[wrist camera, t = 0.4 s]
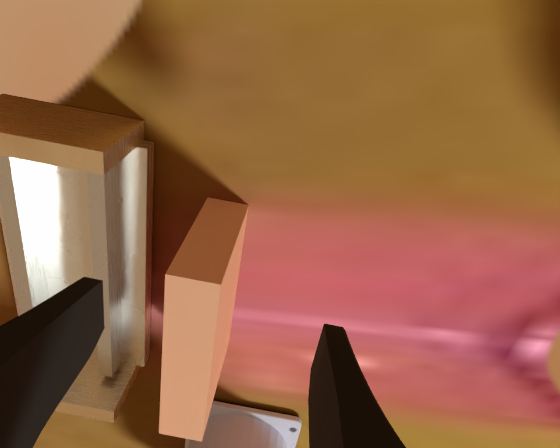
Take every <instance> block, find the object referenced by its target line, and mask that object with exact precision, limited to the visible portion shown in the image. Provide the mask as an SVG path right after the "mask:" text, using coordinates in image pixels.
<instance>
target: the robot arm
mask: <svg viewBox="0 0 560 448" xmlns="http://www.w3.org/2000/svg"><path fill="white" fill-rule="evenodd" d="M103 330H104V302H103V280H98V279H93V278H88V277H83V278H81V279H79V280H78V281H76V282H74V283H73V284H71V285H70V286H68V287H66V288H65V289H63V290H61V291H60V292H58V293H57V294H55V295H53V296H52V297H50V298H48V299H47V300H45V301H44V302H42V303H40V304H38V305H37V306H35V307H33V308H32V309H30V310H28V311H27V312H25V313H23V314H21V315H20V316H18V317H16V318H14V319H12V320H10V321H8V322H7V323H5V324H3V325H1V326H0V448H33V446H34V444H35V442H36V440H37V438H38V436H39V435H40V433H41V431H42V429H43V428H44V426H45V425H46V423H47V421H48V420H49V418H50V416H51V415H52V414H53V412H54V411H55V409H56V408H57V406H58V405H59V403H60V402H61V400H62V399H63V397H64V396H65V394H66V393H67V391H68V390H69V388H70V387H71V385H72V384H73V382H74V381H75V379H76V378H77V376H78V375H79V373H80V372H81V370H82V369H83V367H84V366H85V364H86V363H87V361H88V360H89V358H90V356H91V355H92V353H93V351H94V349H95V347H96V345H97V343H98V341H99V339H100V337H101V334H102V332H103ZM308 404H309V446H310V448H406V447H405V446H404V444H403V443H402V441H401V440H400V438H399V437H398V435H397V434H396V432H395V431H394V429H393V428H392V426H391V425H390V423H389V422H388V420H387V418H386V417H385V415H384V413H383V411H382V410H381V408H380V406H379V404H378V403H377V401H376V399H375V397H374V395H373V393H372V391H371V390H370V388H369V386H368V384H367V381H366V379H365V377H364V375H363V373H362V371H361V369H360V367H359V364H358V362H357V360H356V357H355V355H354V353H353V350H352V348H351V345H350V342H349V340H348V337H347V334H346V331H345V330H344V328H343V327H339V326H334V325H329V324H324V326H323V329H322V333H321V336H320V340H319V343H318V347H317V350H316V353H315V357H314V360H313V364H312V367H311V375H310V386H309V398H308ZM301 425H302V420H301V419H300V418H299V417H296V416H291V415H286V414H281V413H275V412H270V411H265V410H260V409H254V408H249V407H244V406H239V405H233V404H228V403H223V402H218V401H213V403H212V406H211V410H210V414H209V417H208V421H207V425H206V429H205V432H204V436H203V440H202V442H201V441H196V440H191V439H185V448H295V446H296V443H297V439H298V436H299V433H300V429H301Z"/></svg>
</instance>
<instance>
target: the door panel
mask: <svg viewBox="0 0 560 448" xmlns="http://www.w3.org/2000/svg"><path fill="white" fill-rule="evenodd" d="M248 207H249V205H246V204H241V203H236V202H230V201H225V200H220V199H215V198H209V197H208V198H207V199H206V201H205V203H204V205H203V207H202V209H201V210H200V212H199V214H198V216H197V218H196V219H195V221H194V223H193V225H192V227H191V228H190V230H189V232H188V234H187V236H186V238H185V239H184V241H183V243H182V245H181V247H180V248H179V250H178V252H177V254H176V256H175V257H174V259H173V261H172V263H171V265H170V267H169V268H168V270H167V272H166V274H165V293H164V318H163V342H162V367H161V392H160V417H159V434H164V435H170V436H175V437H180V438H185V439H191V440H196V441H201V442H202V440H203V436H204V432H205V429H206V425H207V421H208V417H209V414H210V410H211V406H212V403H213V399H214V395H215V392H216V388H217V384H218V380H219V377H220V373H221V369H222V366H223V362H224V358H225V355H226V351H227V347H228V343H229V338H230V331H231V324H232V317H233V310H234V303H235V296H236V290H237V283H238V276H239V269H240V262H241V255H242V248H243V241H244V234H245V228H246V221H247V214H248Z"/></svg>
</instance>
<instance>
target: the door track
mask: <svg viewBox="0 0 560 448" xmlns="http://www.w3.org/2000/svg"><path fill="white" fill-rule="evenodd" d="M144 131H145V121H143V120H138V119H133V118H128V117H122V116H117V115H112V114H107V113H101V112H96V111H91V110H86V109H80V108H75V107H70V106H65V105H59V104H54V103H49V102H44V101H38V100H33V99H28V98H23V97H17V96H12V95H7V94H1V95H0V218H1V224H2V230H3V235H4V241H5V246H6V252H7V257H8V263H9V269H10V274H11V280H12V285H13V291H14V296H15V302H16V308H17V313H18V316H20V315H21V314H23V313H25V312H27V311H28V310H30V309H32V308H33V307H35V306H37V305H38V304H40V303H42V302H44V301H45V300H47V299H48V298H50V297H52V296H53V295H55V294H57V293H58V292H60V291H61V290H63V289H65V288H66V287H68V286H70V285H71V284H73V283H74V282H76V281H78V280H79V279H81V278H83V277H88V278H93V279H98V280H103V302H104V330H103V332H102V334H101V337H100V339H99V341H98V343H97V345H96V347H95V349H94V351H93V353H92V355H91V356H90V358H89V360H88V361H87V363H86V364H85V366H84V367H83V369H82V370H81V372H80V373H79V375H78V376H77V378H76V379H75V381H74V382H73V384H72V385H71V387H70V388H69V390H68V391H67V393H66V394H65V396H64V397H63V399H62V400H61V402H60V403H59V405H58V406H57V408H56V409H55V412H60V413H65V414H71V415H76V416H81V417H86V418H92V419H97V420H102V421H107V422H113V423H114V422H115V420H116V418H117V416H118V414H119V412H120V410H121V407H122V405H123V403H124V401H125V399H126V397H127V395H128V393H129V391H130V389H131V387H132V385H133V383H134V381H135V378H136V376H137V374H138V372H139V370H140V368H141V366H143V367H144V366H145V364H146V362H147V360H148V358H149V356H150V322H151V274H152V227H153V179H154V142H151V141H145V140H144Z"/></svg>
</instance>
